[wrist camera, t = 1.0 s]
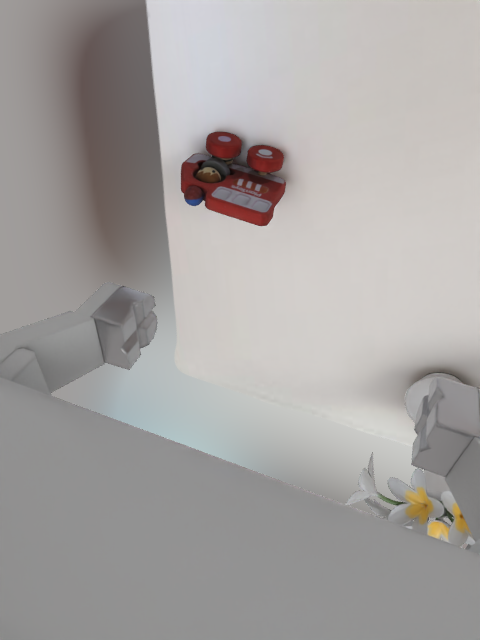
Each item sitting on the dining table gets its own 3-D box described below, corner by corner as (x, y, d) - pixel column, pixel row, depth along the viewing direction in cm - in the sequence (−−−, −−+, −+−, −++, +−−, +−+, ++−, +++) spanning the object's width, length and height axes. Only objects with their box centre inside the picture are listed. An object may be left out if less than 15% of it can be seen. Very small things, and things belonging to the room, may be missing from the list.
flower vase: (373, 345, 63) (339, 502, 46) (520, 367, 57) (547, 561, 39) (367, 404, 71) (336, 558, 54) (495, 430, 65) (508, 614, 47)
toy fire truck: (201, 123, 52) (158, 154, 44) (301, 154, 50) (273, 191, 42) (196, 178, 57) (157, 214, 49) (287, 208, 55) (260, 250, 47)
